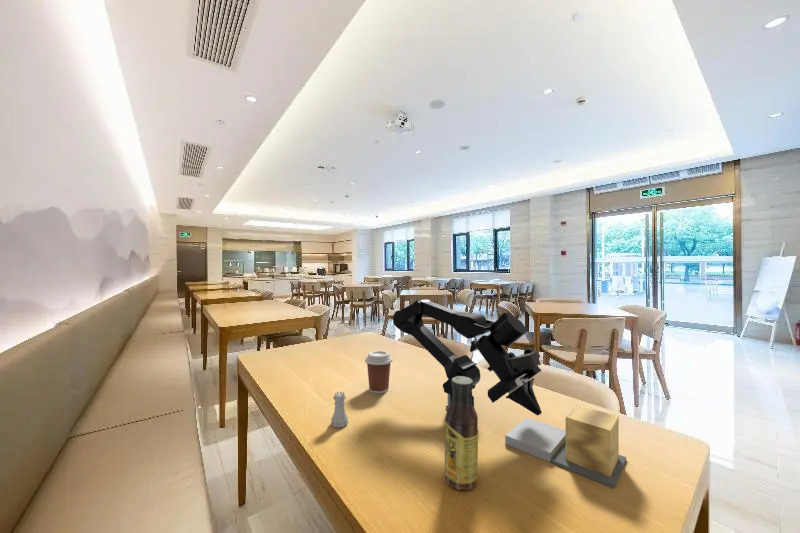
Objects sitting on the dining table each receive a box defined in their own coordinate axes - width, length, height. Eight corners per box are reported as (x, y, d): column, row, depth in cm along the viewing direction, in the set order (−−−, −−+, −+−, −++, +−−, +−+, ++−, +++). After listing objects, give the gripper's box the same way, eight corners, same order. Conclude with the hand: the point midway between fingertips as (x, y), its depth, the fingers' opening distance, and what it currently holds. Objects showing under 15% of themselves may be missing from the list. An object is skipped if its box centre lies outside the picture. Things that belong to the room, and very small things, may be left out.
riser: (505, 443, 74) (505, 435, 74) (526, 425, 83) (526, 417, 83) (550, 462, 67) (550, 452, 67) (568, 439, 76) (568, 431, 76)
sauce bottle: (441, 471, 64) (441, 373, 64) (471, 470, 65) (471, 372, 65) (449, 495, 58) (448, 385, 58) (482, 493, 58) (482, 384, 58)
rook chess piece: (351, 421, 85) (351, 391, 85) (343, 429, 81) (343, 398, 81) (336, 418, 86) (336, 389, 86) (327, 426, 82) (327, 395, 82)
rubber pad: (551, 462, 67) (551, 460, 67) (569, 440, 76) (569, 437, 76) (613, 488, 59) (613, 485, 59) (626, 459, 68) (626, 457, 68)
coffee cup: (360, 392, 104) (359, 355, 104) (372, 382, 113) (372, 348, 112) (385, 396, 101) (385, 358, 101) (396, 386, 109) (396, 351, 109)
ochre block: (565, 459, 67) (565, 416, 67) (576, 444, 73) (576, 404, 73) (610, 477, 62) (610, 430, 62) (618, 458, 67) (618, 416, 67)
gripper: (501, 345, 71) (551, 411, 64) (534, 332, 85) (579, 385, 77) (469, 371, 77) (512, 435, 69) (505, 355, 90) (544, 407, 83)
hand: (539, 414), depth 75 cm, fingers closed
